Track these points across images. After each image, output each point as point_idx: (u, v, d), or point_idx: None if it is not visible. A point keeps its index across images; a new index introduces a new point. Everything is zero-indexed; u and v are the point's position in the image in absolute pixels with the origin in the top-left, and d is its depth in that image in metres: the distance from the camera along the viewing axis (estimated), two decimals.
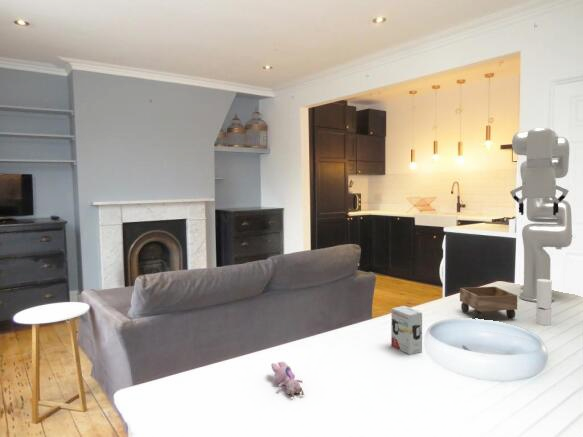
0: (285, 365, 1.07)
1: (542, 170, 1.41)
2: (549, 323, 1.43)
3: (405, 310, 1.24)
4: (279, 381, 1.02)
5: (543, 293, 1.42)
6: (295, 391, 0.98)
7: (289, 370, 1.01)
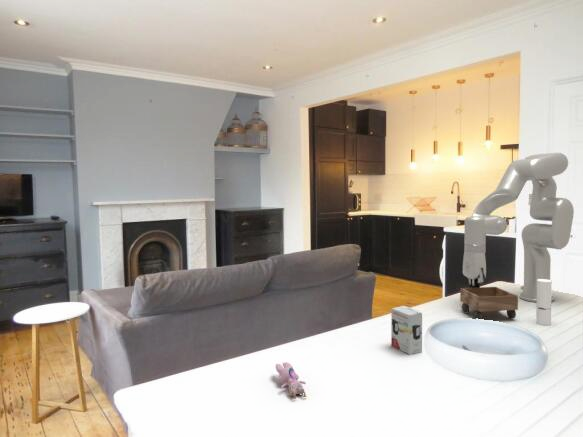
0: (289, 366, 1.06)
1: None
2: (549, 323, 1.43)
3: (405, 310, 1.24)
4: (282, 382, 1.02)
5: (543, 293, 1.42)
6: (297, 392, 0.97)
7: (292, 371, 1.00)
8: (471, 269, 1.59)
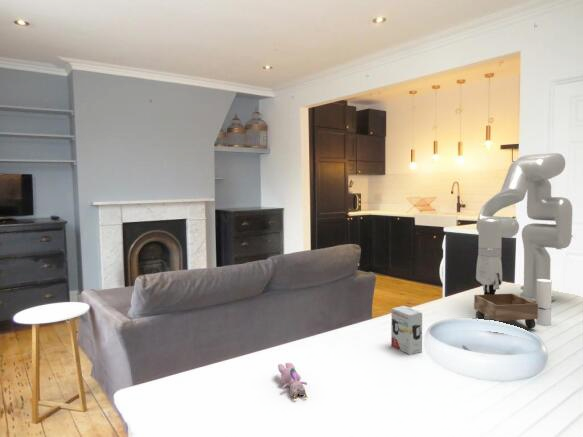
0: (292, 366, 1.06)
1: None
2: (549, 323, 1.43)
3: (405, 309, 1.24)
4: (284, 382, 1.02)
5: (543, 293, 1.42)
6: (298, 393, 0.97)
7: (294, 371, 1.00)
8: (486, 275, 1.49)
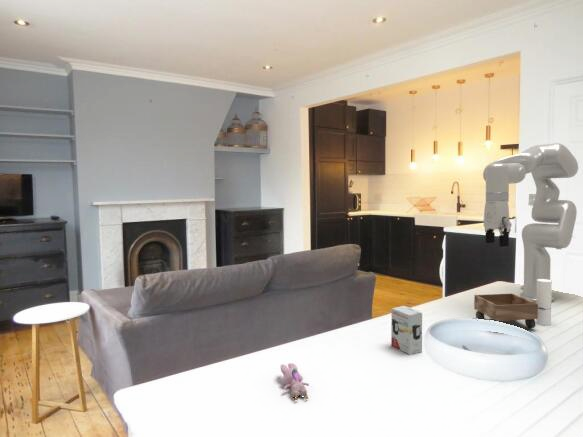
0: (294, 367, 1.06)
1: None
2: (549, 323, 1.43)
3: (405, 309, 1.24)
4: (286, 383, 1.01)
5: (543, 293, 1.42)
6: (300, 394, 0.97)
7: (295, 372, 1.00)
8: (493, 219, 1.50)
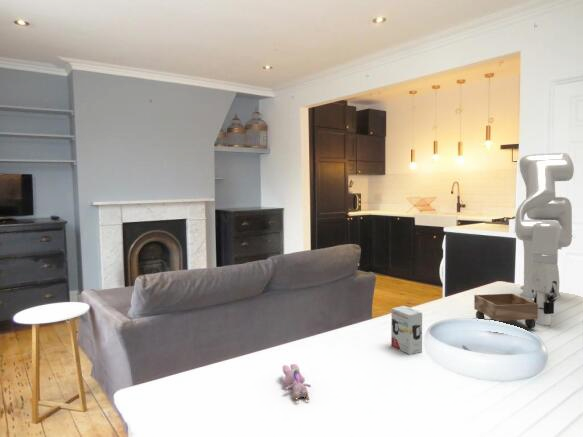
0: (296, 368, 1.05)
1: None
2: (549, 323, 1.43)
3: (405, 309, 1.24)
4: (287, 384, 1.01)
5: None
6: (301, 395, 0.96)
7: (297, 373, 0.99)
8: (542, 282, 1.41)
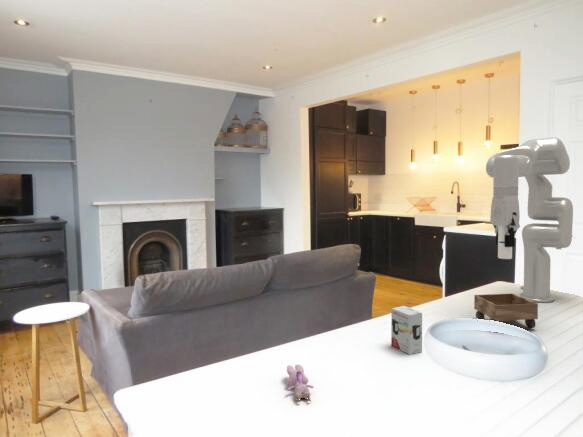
0: (300, 368, 1.05)
1: None
2: (510, 257, 1.41)
3: (405, 310, 1.24)
4: (291, 384, 1.01)
5: (504, 226, 1.41)
6: (303, 396, 0.96)
7: (300, 374, 0.99)
8: (502, 215, 1.39)
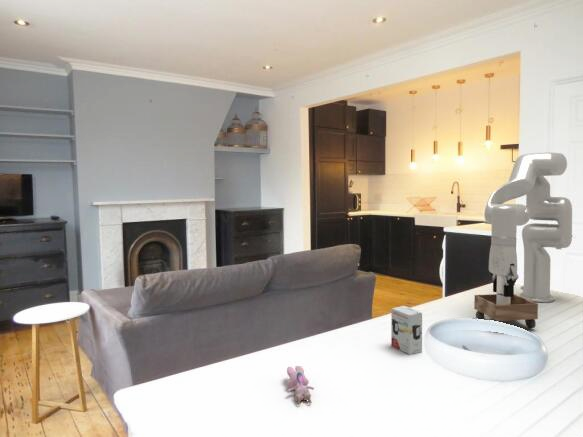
0: (300, 370, 1.04)
1: None
2: None
3: (405, 310, 1.24)
4: (291, 386, 1.00)
5: (502, 278, 1.42)
6: (303, 398, 0.95)
7: (300, 375, 0.98)
8: (500, 265, 1.40)
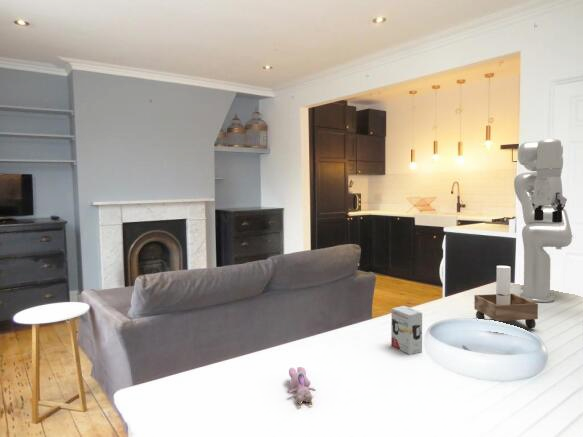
0: (302, 371, 1.03)
1: None
2: None
3: (405, 309, 1.24)
4: (292, 387, 0.99)
5: (502, 279, 1.42)
6: (304, 399, 0.94)
7: (301, 377, 0.97)
8: (546, 195, 1.49)
